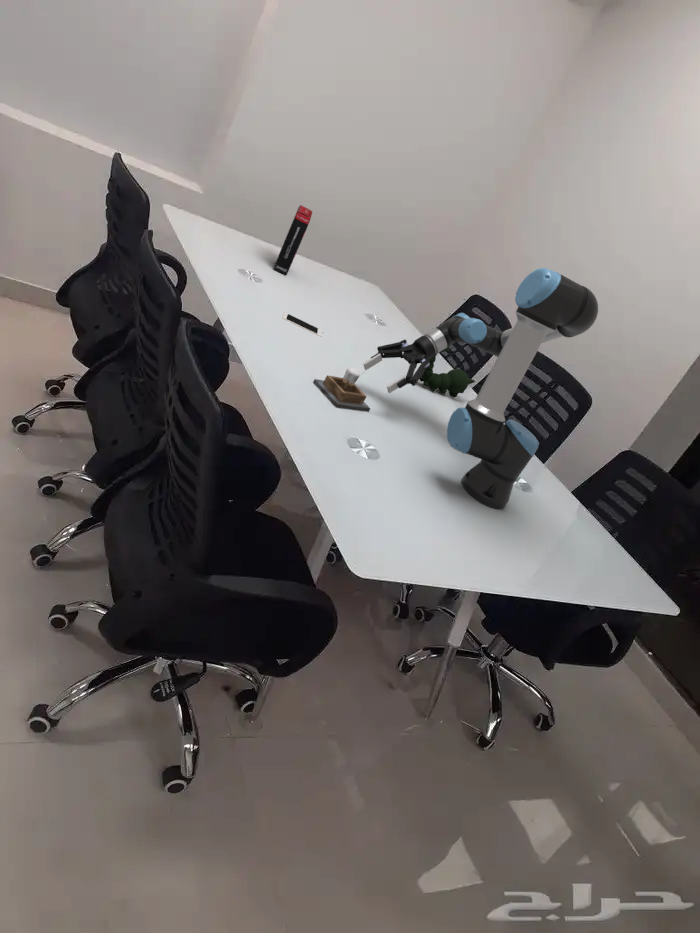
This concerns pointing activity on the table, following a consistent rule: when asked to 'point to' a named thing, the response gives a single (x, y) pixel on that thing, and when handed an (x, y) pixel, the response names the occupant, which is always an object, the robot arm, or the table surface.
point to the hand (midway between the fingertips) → (375, 378)
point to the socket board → (342, 394)
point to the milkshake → (349, 378)
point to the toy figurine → (445, 379)
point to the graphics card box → (293, 240)
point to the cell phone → (302, 324)
